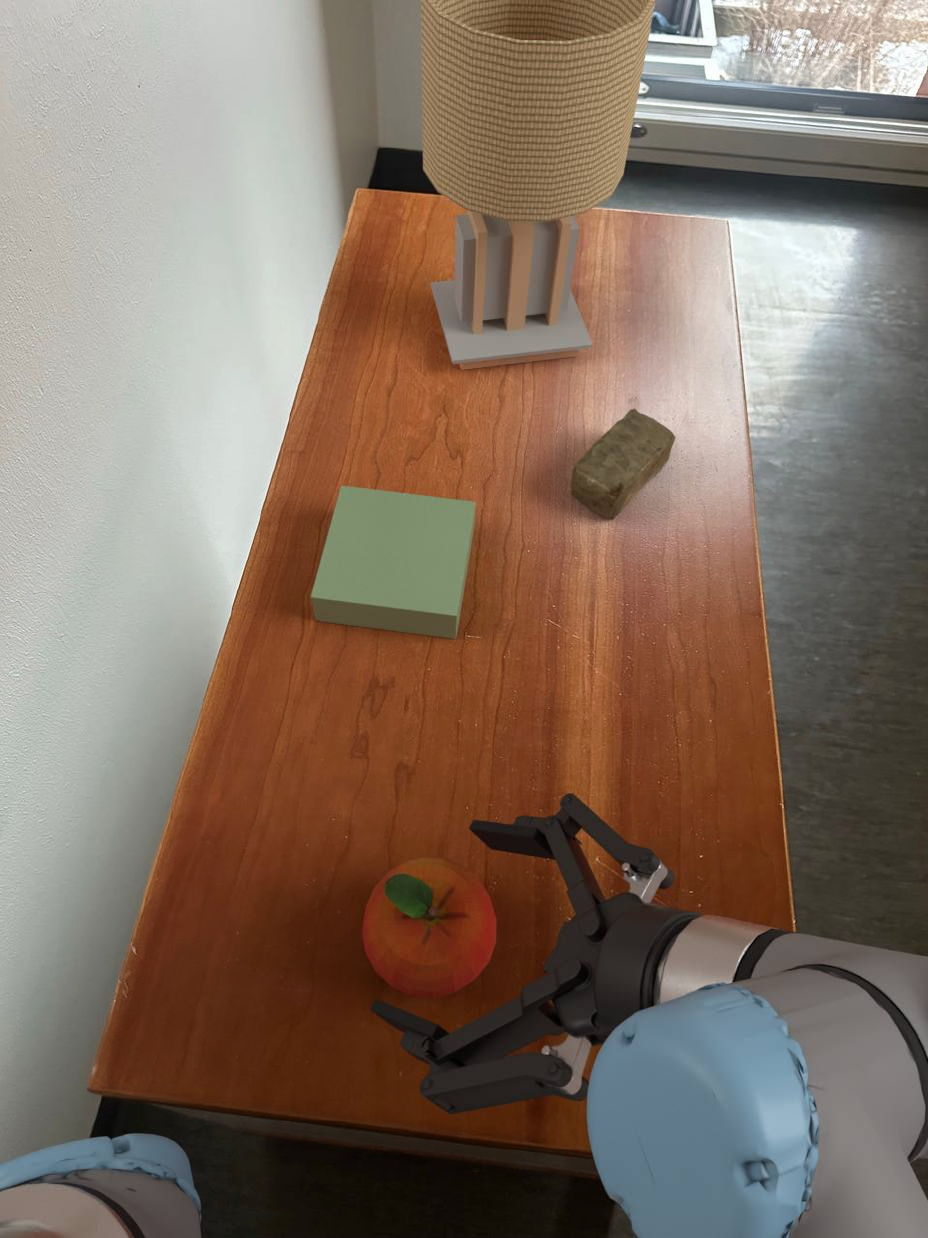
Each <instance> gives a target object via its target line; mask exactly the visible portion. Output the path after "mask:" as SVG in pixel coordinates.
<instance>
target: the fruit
mask: <svg viewBox="0 0 928 1238" xmlns="http://www.w3.org/2000/svg"><path fill="white" fill-rule="evenodd" d="M361 933H362V939H363V947H364V952H365V954H366V956H367V958H368V960H369V962H370V964H371V965H372V968H373V969H374V971H375V973H376V974H377V975H379V976H380V977H381V978H382V980H384V982H386V983H387V984H388V985H389V986H390V987H391V988H393V989H395V990H398V991H399V992H402V993H404V994H406V995H408V996H411V997H417V998H430V999H435V998H439V997H443V996H447V995H450V994H454V993H457V992H458V991H460V990H461V989H463V988H464V987H466V986H467V985H469V984H470V983H472V982H474V981H475V980H476V979H477V977H478V976H480V974H481V973H482V972H483V970H484V969H485V968H486V967H487V966H488V964H490V961H491V958H492V955H493V952H494V949H495V946H496V944H497V917H496V912H495V910H494V907H493V903H492V899H491V897H490V894H489V893H488V891H487V889H486V888H485V887H484V885H483V884H482V882H481V880H480V878H478V876H476V875H475V874H474V873H472V871H470V870H469V869H468V868H467V867H465V865H463V864H461V863H458V862H456V861H453V860H452V859H448V858H446V857H441V856H427V855H424V856H420V857H415V858H411V859H407V860H405V861H403V862H402V863H400V864H398V865H396V866H395V867H393V868H391V869H390V870H389V871H387V872H386V874H385V875H384V876H383V877H382V878H381V879H380V880H379V882H378V883H377V884H376V885H375V886H374V888H373V890H372V892H371V894H370V897H369V899H368V901H367V903H366V906H365V909H364V918H363V922H362V928H361Z"/></svg>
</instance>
